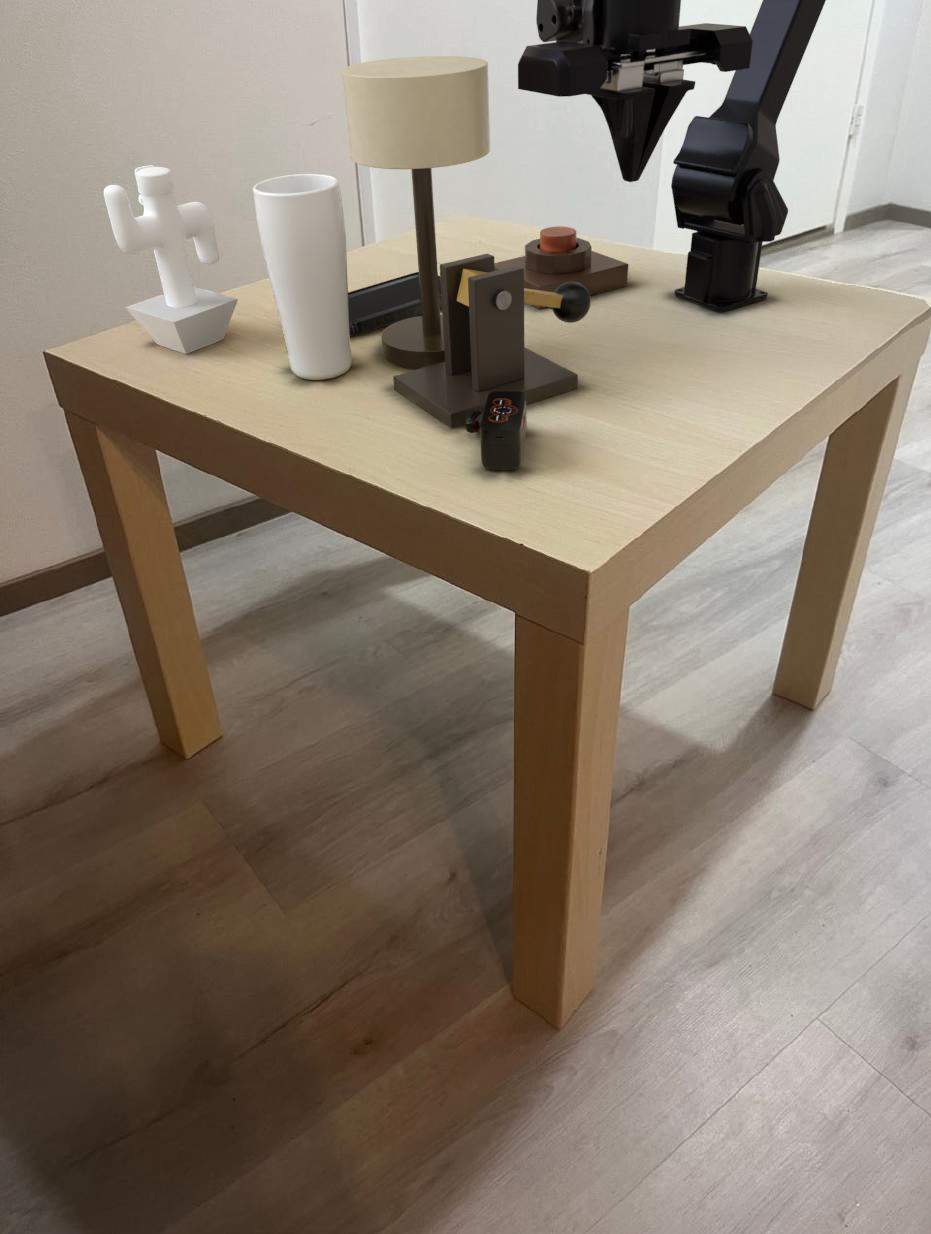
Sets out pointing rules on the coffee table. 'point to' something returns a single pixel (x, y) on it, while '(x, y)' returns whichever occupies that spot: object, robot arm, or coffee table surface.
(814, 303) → the coffee table surface
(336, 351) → the drinking glass
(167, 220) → the figurine
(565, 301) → the lever
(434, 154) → the lamp
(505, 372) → the lamp switch
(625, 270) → the switch box
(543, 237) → the button
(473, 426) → the wireless earbuds
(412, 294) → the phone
